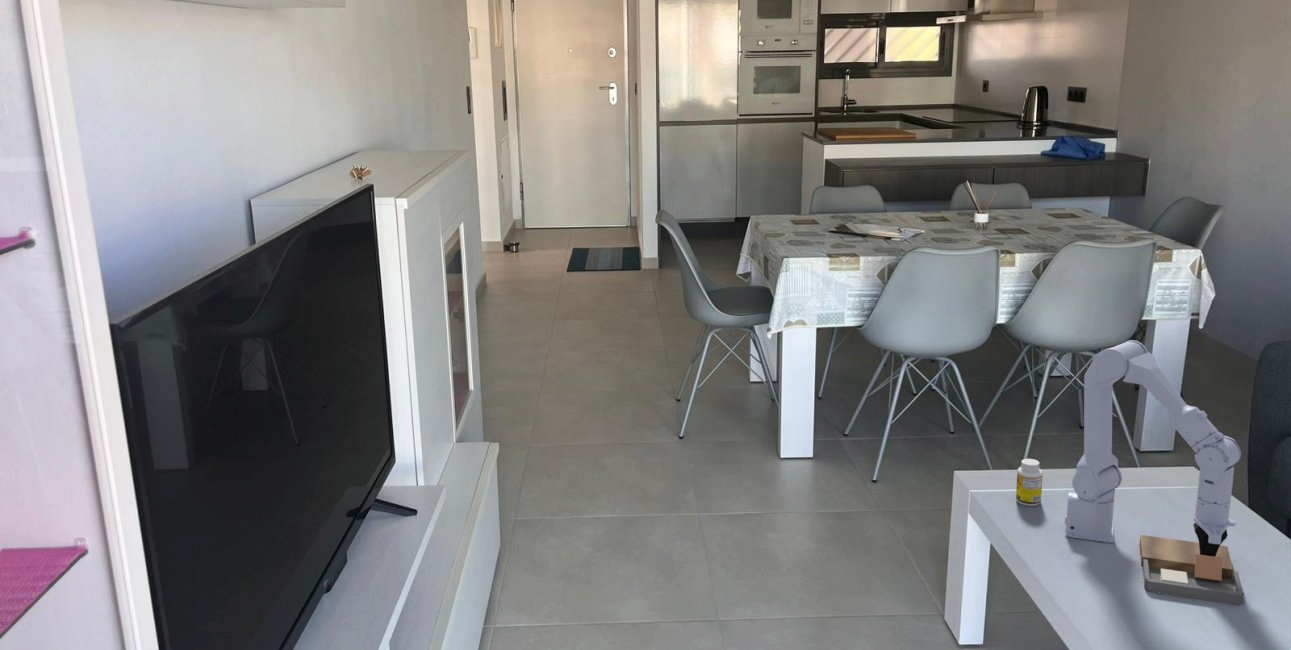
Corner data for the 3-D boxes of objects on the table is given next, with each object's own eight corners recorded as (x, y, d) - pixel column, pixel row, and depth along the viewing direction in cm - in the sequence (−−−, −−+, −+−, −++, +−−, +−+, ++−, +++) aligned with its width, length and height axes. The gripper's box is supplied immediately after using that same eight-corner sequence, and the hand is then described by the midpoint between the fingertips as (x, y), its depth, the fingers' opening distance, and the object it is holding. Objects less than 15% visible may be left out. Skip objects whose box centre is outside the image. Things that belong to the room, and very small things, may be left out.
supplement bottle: (1018, 495, 233) (1020, 455, 230) (1042, 499, 230) (1045, 459, 227) (1013, 504, 228) (1015, 464, 225) (1038, 508, 225) (1041, 468, 222)
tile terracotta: (1194, 578, 192) (1195, 576, 191) (1194, 555, 193) (1195, 554, 192) (1220, 581, 190) (1221, 580, 189) (1220, 558, 192) (1221, 557, 190)
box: (1144, 590, 189) (1145, 580, 189) (1142, 568, 197) (1143, 558, 197) (1242, 605, 183) (1244, 595, 182) (1236, 582, 190) (1238, 572, 190)
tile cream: (1160, 568, 193) (1159, 575, 194) (1161, 579, 189) (1161, 586, 190) (1186, 572, 191) (1185, 579, 192) (1188, 583, 187) (1187, 590, 188)
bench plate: (1141, 567, 198) (1142, 556, 197) (1139, 545, 206) (1140, 534, 206) (1232, 580, 191) (1233, 569, 190) (1226, 557, 200) (1227, 546, 199)
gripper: (1242, 516, 182) (1234, 581, 185) (1232, 485, 194) (1225, 546, 198) (1199, 511, 184) (1192, 575, 188) (1192, 481, 197) (1186, 541, 201)
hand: (1207, 560), depth 193 cm, fingers closed, pressing on tile terracotta
